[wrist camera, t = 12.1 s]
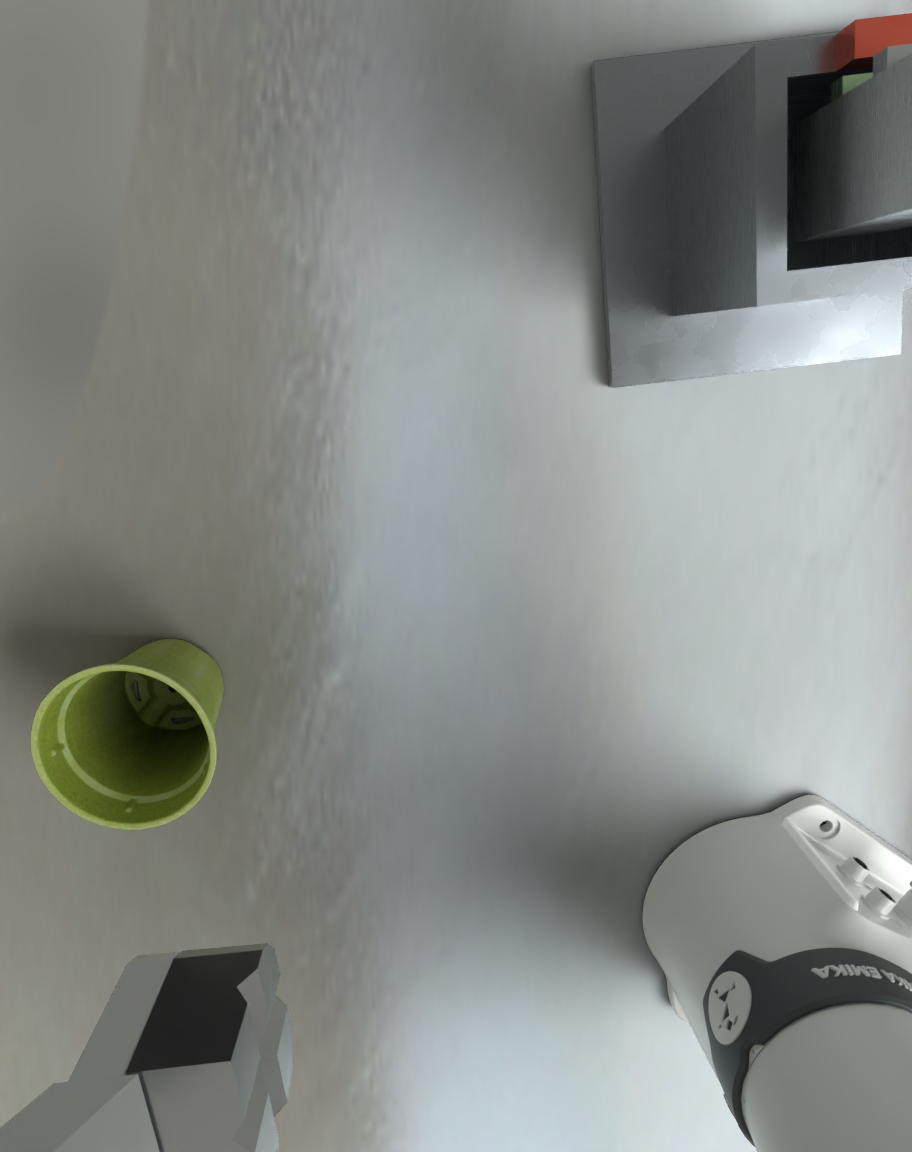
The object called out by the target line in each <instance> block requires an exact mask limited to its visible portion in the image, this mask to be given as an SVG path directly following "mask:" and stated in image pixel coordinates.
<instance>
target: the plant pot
mask: <svg viewBox="0 0 912 1152" xmlns="http://www.w3.org/2000/svg"><path fill="white" fill-rule="evenodd" d="M134 681H137V682H138V691H139V695H140V697H141V701H139V700H137V699H136V697H135V695H134V691H133V687H132V684H133V682H134ZM169 686H171V687H172V688H174V689H175V690H176V691H170V689H169ZM223 695H224V681H223V677H222V674H221V671H220V669H219V667H218V665H217V664H216V662H215V661H214V659H213V658H212V657H211V656H209V655H208V654H206V653H205V652H203V651H202V650H200V649H199V648H197V647H196V646H194V645H193V644H192V643H189V642H187V641H183V640H178V639H162V640H157V641H154V642H151V643H149V644H147V645H145V646H143V647H141V648H139V649H137V650H136V651H134V652H133V653H131V654H129V655H128V656H126V657H124V658H123V659H121V660H119V661H117V662H116V663H109V664H102V665H97V666H93V667H90V668H87V669H84V670H82V671H79V672H77V673H75V674H73V675H71V676H69V677H67V678H66V679H64V680H63V681H61V682H60V683H59V684H58V685H56V686H55V687H54V688H53V689H52V690H51V691H50V692H49V693H48V694H47V696H46V697H45V698H44V700H43V701H42V702H41V704H40V706H39V708H38V709H37V712H36V714H35V716H34V719H33V723H32V729H31V741H30V743H31V753H32V757H33V760H34V764H35V767H36V770H37V772H38V774H39V776H40V778H41V780H42V781H43V783H44V784H45V785H46V787H47V788H48V790H49V791H50V792H51V793H52V794H53V795H54V796H55V798H56V799H57V800H58V801H59V802H60V803H62V804H63V805H64V806H65V807H67V808H68V809H69V810H70V811H72V812H74V813H75V814H77V815H78V816H80V817H82V818H84V819H86V820H89V821H91V822H94V823H96V824H99V825H102V826H106V827H110V828H116V829H127V830H139V829H146V828H151V827H156V826H160V825H163V824H166V823H168V822H170V821H173V820H174V819H176V818H178V817H180V816H181V815H183V814H185V813H186V812H187V811H189V810H190V809H191V808H192V807H193V806H194V805H195V804H196V803H197V802H198V801H199V800H200V799H201V797H202V796H203V795H204V793H205V792H206V790H207V789H208V787H209V784H210V782H211V780H212V777H213V774H214V771H215V767H216V760H217V744H216V738H215V733H214V729H215V726H216V722H217V718H218V715H219V711H220V707H221V704H222V700H223ZM186 717H188V718H189V717H193V718H192V720H190V721H188V722H185V723H174V722H172V721H171V719H172V718H186Z"/></svg>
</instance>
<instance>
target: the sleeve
mask: <svg viewBox="0 0 912 1152" xmlns="http://www.w3.org/2000/svg"><path fill="white" fill-rule="evenodd" d="M905 44H912V13H910V14H902V15H893V16H885V17H876V18H868V19H859V20H855V21H853V22H852V23H851V24H850V25H848V26H847V27H846V28H844V29H843V30H842V31H840V32H833V33H824V34H816V35H807V36H799V37H790V38H782V39H773V40H765V41H757V42H748V43H740V44H731V45H723V46H714V47H706V48H697V49H689V50H681V51H672V52H664V53H655V54H647V55H638V56H630V57H622V58H613V59H605V60H596V61H594V62H593V64H592V66H591V83H592V100H593V118H594V135H595V152H596V170H597V187H598V204H599V222H600V239H601V256H602V274H603V291H604V308H605V325H606V343H607V360H608V377H609V387H612V388H615V387H623V386H632V385H640V384H649V383H658V382H666V381H675V380H683V379H692V378H701V377H709V376H718V375H726V374H735V373H744V372H752V371H761V370H769V369H778V368H787V367H795V366H804V365H812V364H821V363H829V362H838V361H847V360H855V359H864V358H872V357H881V356H890V355H898V354H901V336H902V311H903V289H912V226H911V227H907V228H903V229H899V230H895V231H887V232H878V233H870V234H861V235H853V236H844V237H836V238H827V239H818V240H810V241H801V242H793V243H791V126H793V125H794V124H796V123H798V122H799V121H801V120H803V119H804V118H806V117H808V116H809V115H811V114H813V113H814V112H816V111H817V110H819V109H821V108H822V107H824V106H826V105H827V104H829V103H831V83H833V82H834V81H836V80H837V79H839V78H840V77H842V76H847V75H855V74H864V73H872V72H873V56H874V55H876V54H877V53H879V52H880V51H882V50H883V49H885V48H886V47H888V46H897V45H905Z"/></svg>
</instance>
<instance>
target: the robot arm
mask: <svg viewBox="0 0 912 1152" xmlns="http://www.w3.org/2000/svg"><path fill="white" fill-rule="evenodd" d="M824 821H827V822H826V824H824V825H822V826H820V824H821V823H822V822H824ZM643 929H644V934H645V938H646V941H647V943H648V946H649V948H650V950H651V952H652V954H653V955H654V957H655V958H656V960H657V961H658V963H659V964H660V966H661V968H662V969H663V971H664V973H665V975H666V977H667V988H668V996H669V1000H670V1003H671V1005H672V1007H673V1009H674V1011H675V1013H676V1014H677V1016H678V1017H679V1018H681V1019H683V1020H685V1021H688V1022H689V1024H690V1026H691V1027H692V1029H693V1031H694V1033H695V1035H696V1037H697V1039H698V1041H699V1043H700V1045H701V1047H702V1049H703V1051H704V1053H705V1055H706V1057H707V1059H708V1061H709V1063H710V1065H711V1067H712V1068H713V1070H714V1072H715V1074H716V1076H717V1078H718V1080H719V1081H720V1083H721V1086H722V1088H723V1091H724V1093H725V1094H724V1095H723V1096H724V1098H725V1100H726V1103H727V1105H728V1107H729V1109H730V1111H731V1113H732V1114H733V1116H734V1117H735V1119H736V1121H737V1123H738V1125H739V1127H740V1129H741V1131H742V1132H743V1134H744V1135H745V1137H746V1138H747V1139H748V1140H749V1141H750V1143H751V1144H752V1145H753V1146H755V1147H756V1150H757V1152H912V860H911V859H909V858H908V857H906V856H905V855H903V854H902V853H901V852H899V851H898V850H896V849H895V848H893V847H892V846H890V845H889V844H888V843H886V842H885V841H883V840H882V839H880V838H879V837H877V836H876V835H875V834H873V833H872V832H870V831H869V830H867V829H866V828H864V827H863V826H862V825H860V824H859V823H857V822H856V821H854V820H853V819H851V818H850V817H849V816H847V815H846V814H844V813H843V812H841V811H840V810H838V809H837V808H836V807H834V806H833V805H831V804H830V803H828V802H827V801H825V800H824V799H822V798H821V797H819V796H816V795H805V796H802V797H799V798H796V799H794V800H792V801H790V802H788V803H786V804H784V805H782V806H781V807H779V808H777V809H775V810H774V811H772V812H769V813H766V814H762V815H757V816H751V817H744V818H738V819H734V820H729V821H726V822H723V823H720V824H717V825H714V826H712V827H709V828H707V829H705V830H703V831H701V832H699V833H697V834H696V835H694V836H692V837H691V838H689V839H688V840H686V841H685V842H684V843H682V844H681V845H680V846H679V847H678V848H676V849H675V850H674V851H673V852H672V853H671V854H670V855H669V856H668V857H667V858H666V860H665V861H664V862H663V863H662V865H661V866H660V867H659V869H658V870H657V872H656V873H655V875H654V877H653V879H652V881H651V883H650V885H649V887H648V890H647V893H646V896H645V900H644V905H643ZM279 977H280V969H279V965H278V961H277V957H276V953H275V949H274V948H273V947H272V946H271V945H270V944H269V943H266V944H254V945H243V946H232V947H221V948H209V949H198V950H187V951H182V952H172V953H161V954H151V955H141V956H137V957H135V958H134V959H133V960H132V961H130V962H129V963H128V964H127V966H126V967H125V969H124V971H123V973H122V975H121V977H120V979H119V981H118V983H117V985H116V987H115V989H114V991H113V993H112V995H111V997H110V999H109V1001H108V1003H107V1005H106V1007H105V1009H104V1011H103V1013H102V1015H101V1017H100V1019H99V1021H98V1023H97V1025H96V1027H95V1029H94V1031H93V1033H92V1035H91V1037H90V1039H89V1041H88V1043H87V1045H86V1047H85V1049H84V1051H83V1053H82V1055H81V1057H80V1059H79V1061H78V1063H77V1065H76V1067H75V1069H74V1071H73V1073H72V1075H71V1077H70V1079H69V1081H68V1082H62V1083H54V1084H53V1085H51V1086H50V1087H49V1088H48V1089H47V1090H45V1091H44V1092H43V1093H42V1094H41V1095H39V1096H38V1097H37V1098H36V1099H35V1100H33V1101H32V1102H31V1103H30V1104H29V1105H27V1106H26V1107H25V1108H24V1109H23V1110H21V1111H20V1112H19V1113H18V1114H17V1115H15V1116H14V1117H13V1118H12V1119H11V1120H9V1121H8V1122H7V1123H6V1124H5V1125H3V1126H2V1127H1V1128H0V1152H277V1151H278V1146H279V1139H278V1134H277V1129H276V1125H275V1120H274V1117H275V1115H276V1114H277V1113H278V1112H279V1111H280V1110H281V1109H282V1107H283V1106H284V1105H285V1104H286V1103H287V1100H288V1094H289V1089H290V1083H291V1077H292V1058H293V1041H292V1029H291V1021H290V1016H289V1011H288V1006H287V1005H286V1004H285V1003H284V1002H283V1001H281V1000H280V999H279V998H278V997H277V996H276V995H275V994H276V990H277V986H278V981H279Z"/></svg>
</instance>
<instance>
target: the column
mask: <svg viewBox="0 0 912 1152" xmlns="http://www.w3.org/2000/svg"><path fill="white" fill-rule="evenodd" d="M911 226H912V44H905V45H897V46H888V47H886V48H885V49H883V50H882V51H880V52H879V53H877V54H876V55H874V56H873V72H872V73H864V74H855V75H847V76H842V77H840V78H839V79H837V80H836V81H834V82H833V83H831V103H829V104H827V105H826V106H824V107H822V108H821V109H819V110H817V111H816V112H814V113H813V114H811V115H809V116H808V117H806V118H804V119H803V120H801V121H799V122H798V123H796V124H794V125H793V126H791V243H793V242H801V241H810V240H818V239H827V238H836V237H844V236H853V235H861V234H870V233H878V232H887V231H895V230H899V229H903V228H907V227H911Z"/></svg>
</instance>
